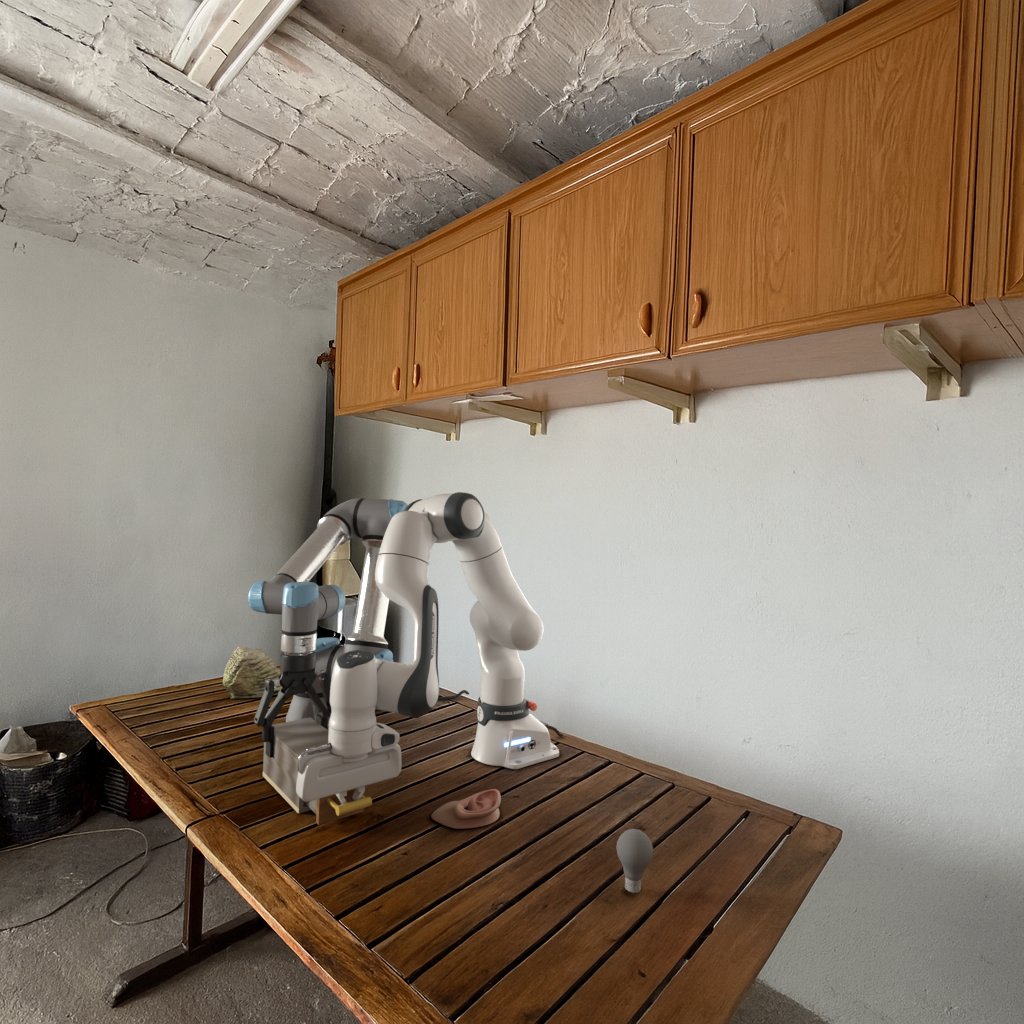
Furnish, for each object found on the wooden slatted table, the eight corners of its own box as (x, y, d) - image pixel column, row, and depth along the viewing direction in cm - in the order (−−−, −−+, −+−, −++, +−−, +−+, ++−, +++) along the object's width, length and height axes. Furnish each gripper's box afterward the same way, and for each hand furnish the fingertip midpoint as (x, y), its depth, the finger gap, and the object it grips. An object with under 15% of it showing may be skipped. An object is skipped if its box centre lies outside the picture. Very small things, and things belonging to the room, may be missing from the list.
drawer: (377, 823, 122) (379, 776, 122) (331, 838, 116) (333, 789, 116) (323, 775, 141) (324, 734, 141) (280, 786, 135) (282, 743, 135)
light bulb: (610, 879, 108) (613, 822, 108) (644, 879, 109) (647, 822, 109) (619, 902, 102) (622, 840, 102) (655, 901, 103) (658, 840, 103)
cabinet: (348, 799, 133) (350, 746, 133) (298, 813, 126) (300, 758, 126) (308, 764, 149) (310, 717, 149) (262, 775, 142) (264, 726, 142)
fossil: (218, 695, 195) (220, 647, 195) (278, 685, 208) (279, 640, 207) (228, 703, 189) (230, 653, 188) (289, 692, 201) (290, 645, 201)
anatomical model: (426, 804, 124) (444, 779, 135) (425, 824, 124) (443, 798, 135) (492, 814, 121) (505, 787, 132) (491, 834, 121) (504, 806, 133)
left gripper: (250, 662, 131) (247, 767, 132) (354, 649, 146) (350, 744, 147) (239, 654, 137) (235, 755, 137) (339, 642, 152) (336, 734, 152)
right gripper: (305, 756, 112) (302, 833, 112) (406, 732, 125) (404, 802, 125) (292, 744, 116) (289, 818, 117) (391, 723, 129) (388, 790, 130)
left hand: (295, 749), depth 142 cm, fingers closed on cabinet, 11 cm apart
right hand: (349, 810), depth 121 cm, fingers closed, pressing on drawer
